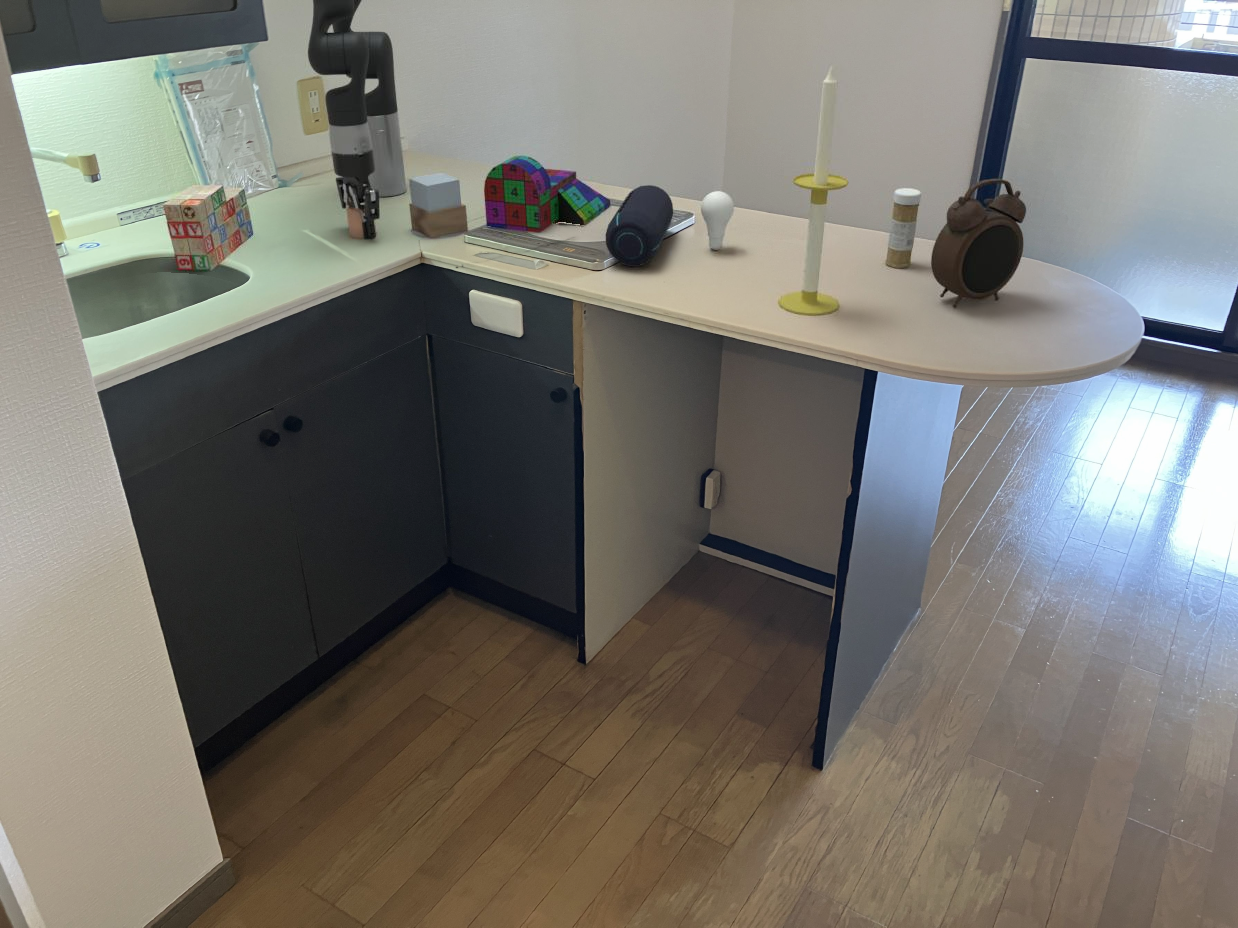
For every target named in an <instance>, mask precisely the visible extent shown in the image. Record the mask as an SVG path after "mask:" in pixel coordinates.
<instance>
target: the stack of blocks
mask: <svg viewBox="0 0 1238 928" xmlns="http://www.w3.org/2000/svg"><path fill="white" fill-rule="evenodd" d="M162 206H163V211H164V215H165V219H166V225H167V229H168V230H167V231H168V233H169V238H170V241H171V244H172V248H173V253H174V258H175V262H176V266H177V270H178V271H212V270H214V269H215V268H216V267H217V266H218V265H220V264H221V263H222V262H223V261H224V260H225V259H227V258H228V257H229V256H231V254H232V253H233V252H234V251H236V250H237V248H239V247H241V245H242V244H244V243H245V242H246V241H247V240H249V239H250V238H251V237H253V235H254V229H253V223H252V218H251V212H250V208H249V204H248V201H247V197H246V192H245V188H243V187H242V188H241V187H238V188H237V187H235V188H233V187H229V188H228V187H227V188H224V185H221V184H217V185H216V184H215V185H211V184H210V185H203V184H202V185H201V184H200V185H197V184H196V185H194V184H192V185H189V186H188V187H187V188H185V189H184V190H182V191H181V192H180V193H178V194H177V195H175V196H174V197H172V198H171V199H169V200H168V201H166V202H164V203H163V204H162Z"/></svg>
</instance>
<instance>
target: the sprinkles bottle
mask: <svg viewBox="0 0 1238 928" xmlns="http://www.w3.org/2000/svg"><path fill="white" fill-rule="evenodd" d="M921 198H922V192H921V191H920V190H918V189H916V188H910V187H909V188H907V187H906V188H905V187H903V188H898V189H895V191H894V193H893V199H892V200H893V209H892V215H891V221H890V222H891V223H890V229H889V234H888V242H887V252H886V259H885V264H886V265H887V266H889V267H891V268H894V269H896V268H897V269H905V268H908V267H910V266H911V264H912V263H911V262H912V261H911V260H912V259H911V258H912V252H913V247H914V242H915V236H916V228H917V222H918V213H919V212H918V211H919V206H920V203H921Z"/></svg>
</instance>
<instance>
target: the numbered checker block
mask: <svg viewBox="0 0 1238 928" xmlns="http://www.w3.org/2000/svg"><path fill="white" fill-rule="evenodd" d="M483 193H484V194H483V195H484V207H485V208H484V209H485V222H486V223H485V224H486V227H487V226H491V227H490V228H493V227H494V228H495V229H503V230H505V229H506V230H511V229H512V230H513V231H521V232H530V233H538V234H540V233H542V232H543V231H544V230H545V229H547V228H548V227H550V226H551V225H553V224H555V225H557V224H556V223H558V222H566V223H572V224H580V225H585V224H586V225H588V224H589V223H590V222H591V221H593V220H594V219H595V218H597V217H598V216H599V215H601V214H602V213H603V212H604V211H605V210H607V209H608V208H609V207H611V200H610V199H609V198H608V197H606V196H604V195H603V194H601V193H600V192H598V191H596V189H594V188H592V187H590V186H589V185H588V184H586V183H584V182H583V181H582V180H579V179H578V178H577V171H575V170H564V169H563V170H562V169H552V168H544V166H543V165H542V164H541V163H540V162H539V161H538V160H536V159H534V158H532V156H526V155H514V156H512V157H510V158H509V159H506V160H504V161H503V162H501V163H499V164H497V165H495V166H494V167H492V168H491V170H490V171H489V172H488V173H487V175H486V178H485V180H484V187H483ZM588 222H589V223H588ZM587 223H588V224H587ZM586 225H585V226H586Z"/></svg>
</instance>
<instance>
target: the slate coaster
mask: <svg viewBox="0 0 1238 928" xmlns="http://www.w3.org/2000/svg"><path fill="white" fill-rule="evenodd" d="M465 233H467V231H464V232H459V233H455V234H450V235H446V236H441V237H437V238H433V239H432V238H430V237H428V236H426V235H424V234H422V233H420V232H418V231H416V230H413V229H412V228H411V234H413V236H416V237H418V238H421V239H432V240H436V239H437V240H438V239H449V238H455V237H459V236H461V235H464V234H465Z"/></svg>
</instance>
